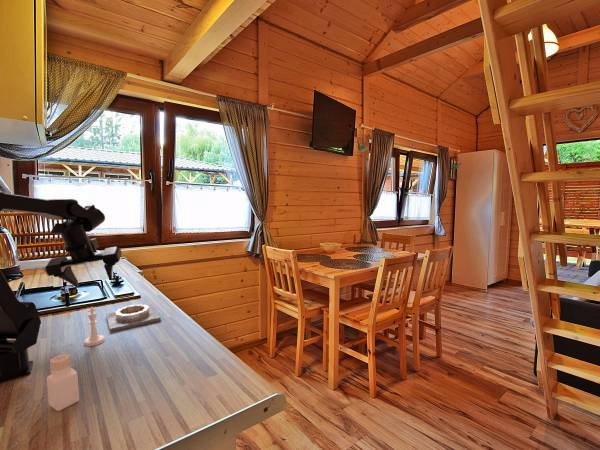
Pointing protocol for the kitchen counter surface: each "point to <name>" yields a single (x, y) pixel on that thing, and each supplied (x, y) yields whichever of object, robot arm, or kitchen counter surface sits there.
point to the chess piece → (93, 331)
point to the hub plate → (132, 317)
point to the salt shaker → (62, 383)
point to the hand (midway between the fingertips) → (94, 282)
